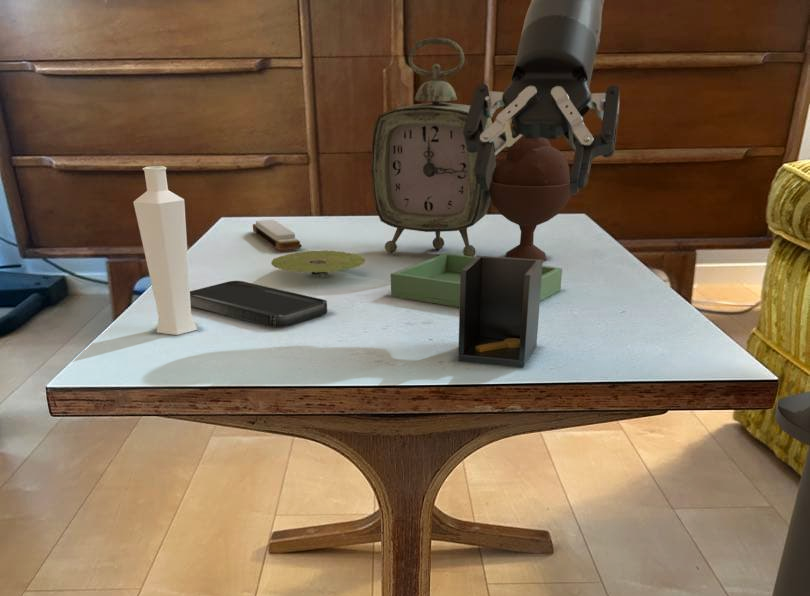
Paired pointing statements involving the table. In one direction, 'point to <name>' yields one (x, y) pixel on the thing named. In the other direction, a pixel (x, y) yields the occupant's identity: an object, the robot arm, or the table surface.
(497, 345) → the key
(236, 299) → the phone
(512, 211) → the ice cream bowl
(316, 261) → the green round disc
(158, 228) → the perfume bottle
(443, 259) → the tray
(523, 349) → the holder
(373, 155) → the tabletop clock
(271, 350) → the table surface
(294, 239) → the harmonica
